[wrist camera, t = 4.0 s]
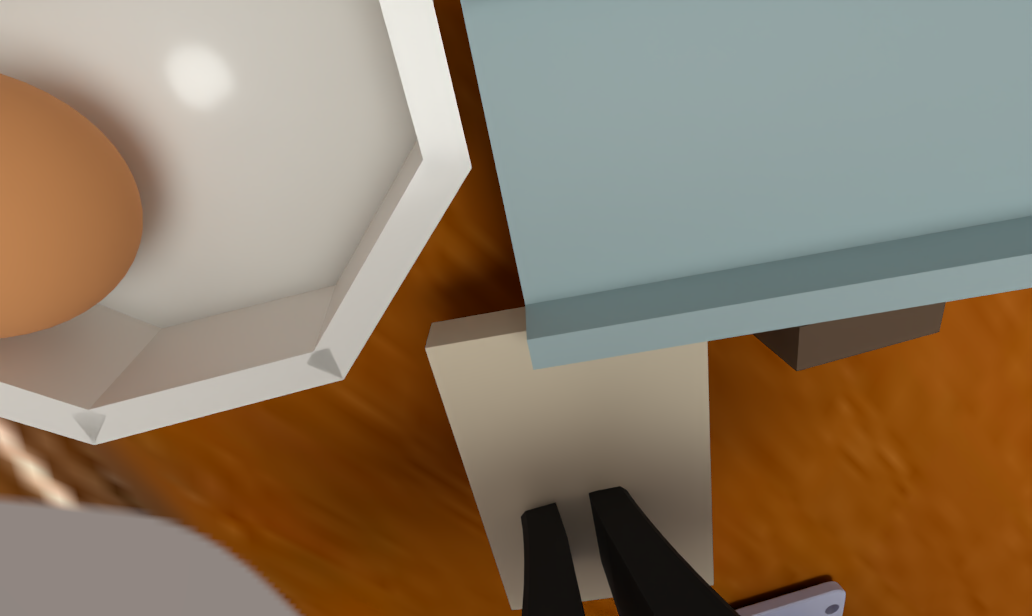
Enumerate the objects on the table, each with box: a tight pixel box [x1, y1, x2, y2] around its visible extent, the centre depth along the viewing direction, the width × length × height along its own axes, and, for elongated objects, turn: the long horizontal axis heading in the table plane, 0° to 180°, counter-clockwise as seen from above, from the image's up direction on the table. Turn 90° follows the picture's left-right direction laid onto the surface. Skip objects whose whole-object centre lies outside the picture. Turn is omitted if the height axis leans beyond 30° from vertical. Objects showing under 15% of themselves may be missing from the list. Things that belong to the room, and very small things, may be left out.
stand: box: [753, 302, 946, 371], centre depth 8 cm, size 8×6×4 cm
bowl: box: [0, 0, 472, 445], centre depth 7 cm, size 9×9×3 cm
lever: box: [425, 0, 1032, 610], centre depth 7 cm, size 12×15×3 cm
